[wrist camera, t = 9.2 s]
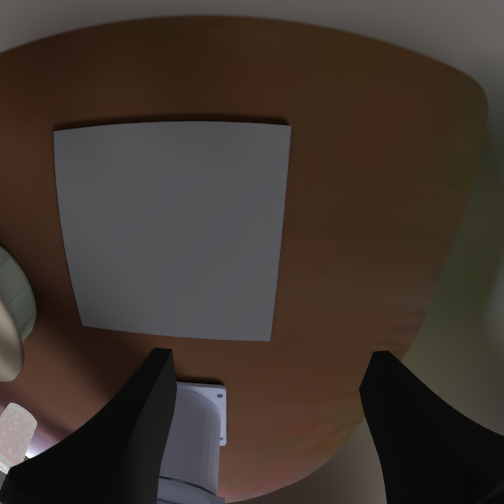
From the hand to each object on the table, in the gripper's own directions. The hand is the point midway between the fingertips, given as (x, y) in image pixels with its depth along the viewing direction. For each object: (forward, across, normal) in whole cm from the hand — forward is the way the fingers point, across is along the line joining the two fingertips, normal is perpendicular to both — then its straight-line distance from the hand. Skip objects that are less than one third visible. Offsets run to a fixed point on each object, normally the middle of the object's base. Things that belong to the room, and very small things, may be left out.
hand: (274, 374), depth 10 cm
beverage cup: (+10, +29, +24) cm, 39 cm away
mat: (+9, +6, -1) cm, 11 cm away
